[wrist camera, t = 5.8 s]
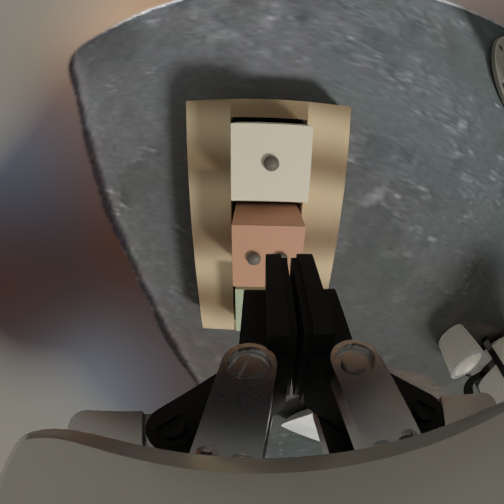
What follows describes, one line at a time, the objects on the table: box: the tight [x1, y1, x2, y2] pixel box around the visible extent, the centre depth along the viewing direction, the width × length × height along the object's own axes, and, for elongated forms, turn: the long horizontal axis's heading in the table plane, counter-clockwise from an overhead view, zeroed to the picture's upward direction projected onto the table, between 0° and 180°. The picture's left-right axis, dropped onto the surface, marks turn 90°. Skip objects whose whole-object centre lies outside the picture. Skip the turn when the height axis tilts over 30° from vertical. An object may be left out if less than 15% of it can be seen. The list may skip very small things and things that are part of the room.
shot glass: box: [439, 324, 484, 379], centre depth 32 cm, size 7×7×7 cm
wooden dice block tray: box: [186, 99, 351, 329], centre depth 25 cm, size 23×13×3 cm, turn 179°
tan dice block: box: [231, 203, 306, 287], centre depth 22 cm, size 5×5×5 cm
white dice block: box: [231, 122, 313, 203], centre depth 19 cm, size 5×5×5 cm
